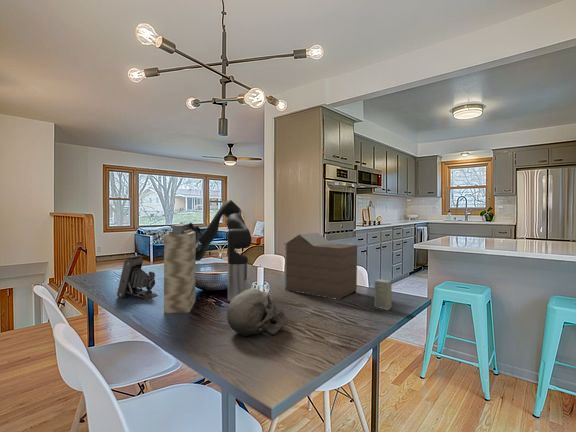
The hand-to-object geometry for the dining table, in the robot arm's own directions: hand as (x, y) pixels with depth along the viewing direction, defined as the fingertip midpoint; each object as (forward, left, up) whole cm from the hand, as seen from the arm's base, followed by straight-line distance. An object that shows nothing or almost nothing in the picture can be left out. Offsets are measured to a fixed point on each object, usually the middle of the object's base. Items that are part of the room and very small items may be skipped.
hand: (185, 224), depth 148 cm
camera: (+24, -2, -36) cm, 43 cm away
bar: (-2, +6, -3) cm, 7 cm away
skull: (-42, +34, -35) cm, 65 cm away
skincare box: (-90, -1, -35) cm, 97 cm away
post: (-3, +11, -35) cm, 37 cm away
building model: (-62, -27, -36) cm, 76 cm away
